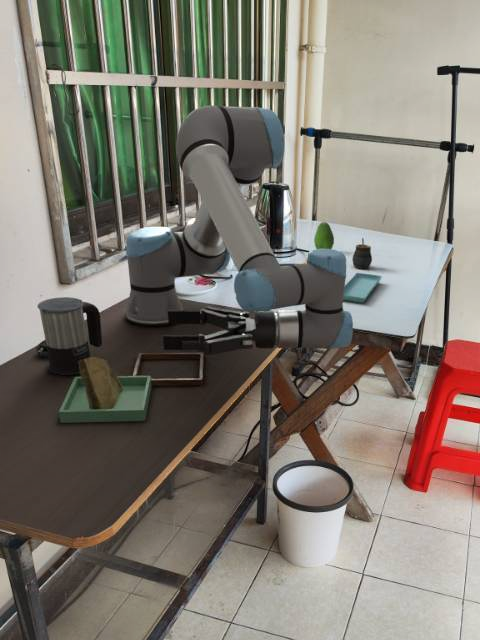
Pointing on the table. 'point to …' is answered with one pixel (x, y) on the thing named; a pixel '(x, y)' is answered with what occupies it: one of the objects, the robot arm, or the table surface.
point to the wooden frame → (172, 356)
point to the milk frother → (68, 333)
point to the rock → (99, 383)
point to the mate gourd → (362, 256)
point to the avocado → (324, 237)
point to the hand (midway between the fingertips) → (165, 329)
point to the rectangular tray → (360, 287)
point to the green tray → (125, 409)
